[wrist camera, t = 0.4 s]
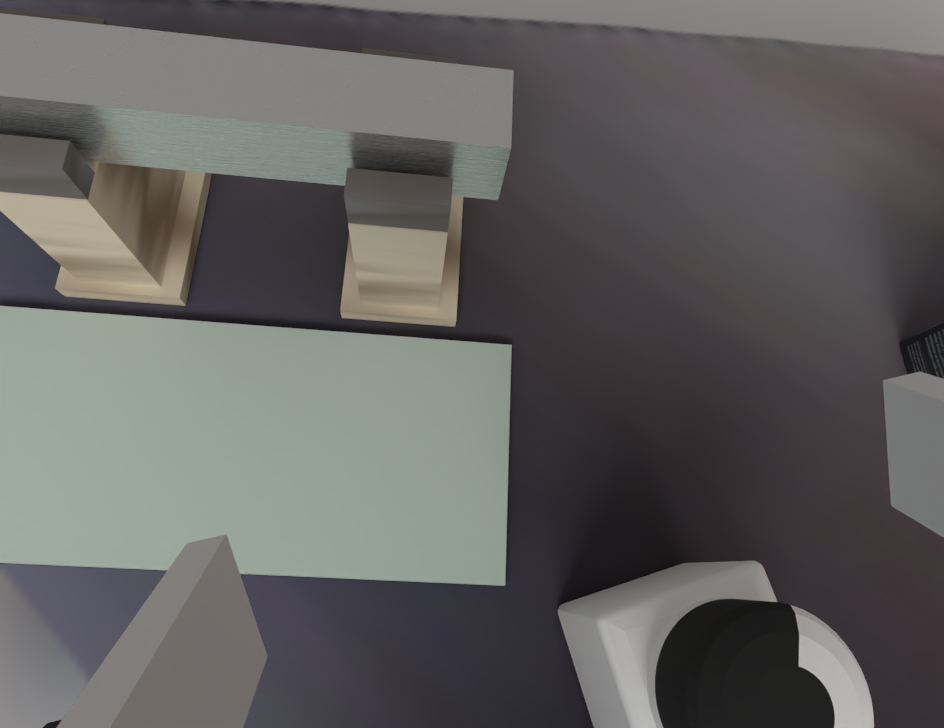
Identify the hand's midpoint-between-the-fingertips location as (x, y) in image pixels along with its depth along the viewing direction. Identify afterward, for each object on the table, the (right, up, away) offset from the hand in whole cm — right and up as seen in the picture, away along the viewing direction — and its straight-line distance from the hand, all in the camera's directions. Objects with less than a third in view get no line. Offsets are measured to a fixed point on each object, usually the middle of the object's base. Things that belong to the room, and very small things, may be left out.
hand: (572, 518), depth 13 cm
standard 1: (-6, +9, +23) cm, 25 cm away
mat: (-13, -1, +19) cm, 23 cm away
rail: (-12, +12, +14) cm, 22 cm away
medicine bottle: (+6, -11, +18) cm, 22 cm away
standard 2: (-20, +10, +22) cm, 31 cm away
